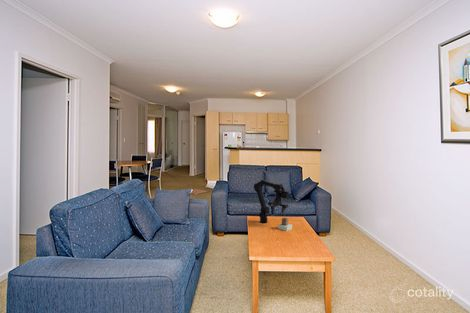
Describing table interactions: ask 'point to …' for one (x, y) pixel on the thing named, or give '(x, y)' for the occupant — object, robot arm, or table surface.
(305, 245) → the table surface
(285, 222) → the walnut block
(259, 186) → the robot arm
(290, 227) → the sage base block
